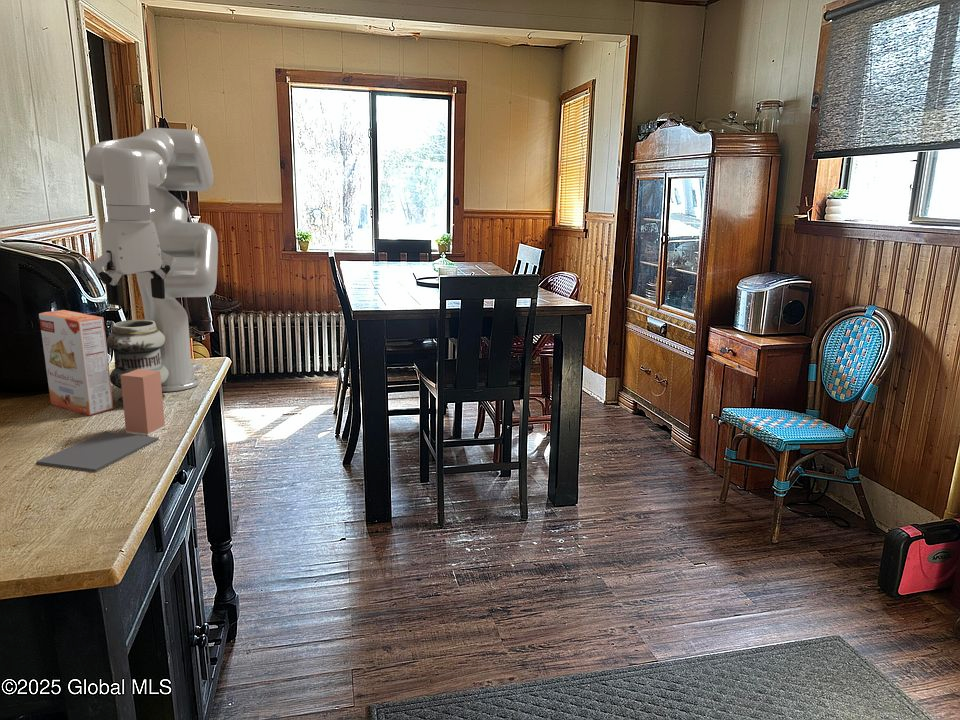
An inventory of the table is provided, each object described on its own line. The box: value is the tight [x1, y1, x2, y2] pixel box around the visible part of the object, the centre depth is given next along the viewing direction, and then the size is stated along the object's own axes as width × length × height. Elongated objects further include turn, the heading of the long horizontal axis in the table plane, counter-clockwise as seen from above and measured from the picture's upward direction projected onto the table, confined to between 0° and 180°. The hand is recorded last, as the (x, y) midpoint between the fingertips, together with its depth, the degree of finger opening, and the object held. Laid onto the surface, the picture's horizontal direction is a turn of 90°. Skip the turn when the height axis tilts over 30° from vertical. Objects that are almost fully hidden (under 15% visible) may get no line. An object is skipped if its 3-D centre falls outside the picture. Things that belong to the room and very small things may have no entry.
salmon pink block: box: [120, 369, 166, 436], centre depth 132 cm, size 5×5×12 cm
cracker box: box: [38, 309, 114, 417], centre depth 143 cm, size 14×6×21 cm, turn 62°
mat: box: [36, 430, 159, 473], centre depth 122 cm, size 16×12×1 cm
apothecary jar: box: [106, 319, 169, 405], centre depth 150 cm, size 12×12×18 cm
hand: (137, 301), depth 133 cm, fingers open, 9 cm apart
